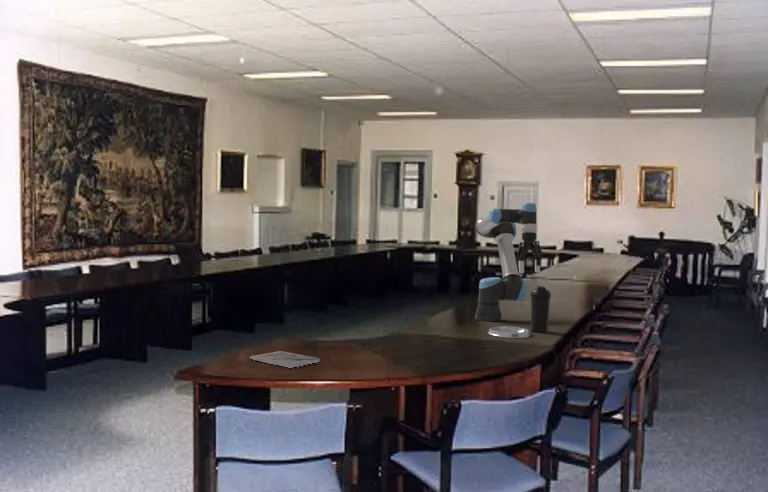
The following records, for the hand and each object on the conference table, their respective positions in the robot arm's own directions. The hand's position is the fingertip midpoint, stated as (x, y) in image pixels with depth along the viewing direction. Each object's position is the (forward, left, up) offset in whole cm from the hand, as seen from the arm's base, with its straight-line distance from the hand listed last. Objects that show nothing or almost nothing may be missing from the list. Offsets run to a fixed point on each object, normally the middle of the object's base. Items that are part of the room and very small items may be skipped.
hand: (529, 272), depth 416 cm
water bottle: (+13, +2, -29) cm, 32 cm away
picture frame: (+88, -130, -30) cm, 160 cm away
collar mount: (+22, -17, -29) cm, 40 cm away
